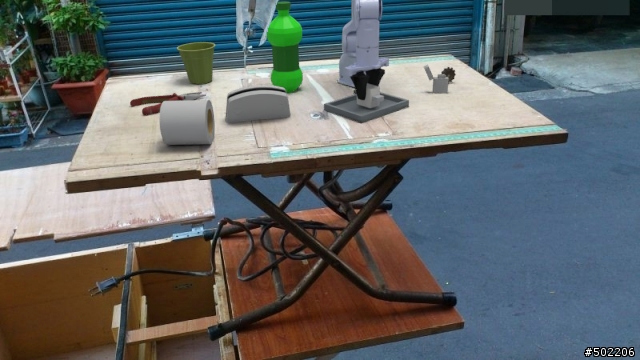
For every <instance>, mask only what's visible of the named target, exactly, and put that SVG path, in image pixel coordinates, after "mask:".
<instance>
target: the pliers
mask: <svg viewBox="0 0 640 360" xmlns="http://www.w3.org/2000/svg"><path fill="white" fill-rule="evenodd" d="M206 96H207V94H203V92H202V91H197V92H189V93H183V94H177V93H176V92H173V93H172V94H166V95H152V96H149V95H148V96H144V97H143V96H142V97H137V98H134V99H132V100H130V102H129V104H130V107H131V108H135V107H140V106H144V105H149V106H145V107H142V109H141V113H142V115H143V116H145V117H147V116H152V115H156V114H160V108H161V105H162V103H163V102H164V101H186V100H198V99H201V98H203V97H206ZM150 104H155V105H150Z"/></svg>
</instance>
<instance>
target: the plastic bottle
mask: <svg viewBox="0 0 640 360" xmlns="http://www.w3.org/2000/svg"><path fill="white" fill-rule="evenodd" d="M291 6H292V5H291V1H283V0H282V1H277V5H276V4H275V10H276V11H277V16H275V18H273V20H272V21H271V22H270V23H269V24H270V26H269V28H268V27H267V29H268V32H267V31H266V38H267V42H268V43H269V44H270V45H271V53H272V65H273V66H272V71H271V74H270V81H271V84H272V86H278V87H283V88H284V89H285V90H286V92H287V93H292V92H295V91H296V90H297V89H298V88H299V87H300V86H301V85H302V83H303V80H304V79H303V78H304V77H303V76H304V75H303V74H304V73H303V71H302V69H301V67H300V56H299V55H300V52H299V49H300V48H299V44H300V43H301V41H302V40H303V39H302V38H303V27H302V25H301V23H300V22H299V21H297V20H296V19H295V18H294V17H292V16H291V15H290V10H291V8H292V7H291Z"/></svg>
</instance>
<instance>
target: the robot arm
mask: <svg viewBox="0 0 640 360" xmlns="http://www.w3.org/2000/svg"><path fill="white" fill-rule="evenodd" d="M382 17H383V0H351V19H350V21H349V22H347V23H346V24H345V25H344V26H343V28H342V30H341V31H342V33H341V49H342V50H341V51H342V55H341V56H340V58H339V62H338V64H339V65H338V68H339V69H338V71H339V72H338V73H339V74H338V77H339V78H338V80H337V83H338V84H342V85H345V86H349V87H351V88H355V89H356V93H357V97H358V99H360V100H365V97H366V87H367V83H368V84H371V85H375V86H379V85H380V83H381V82H382V81H381V80H382V79H383V77H384V75H385V74H386V69H385V68H383V67H390V59H389V58H386V57H381V58H380V57H379V52H380V48H379V47H380V21H381V20H382ZM379 87H380V86H379ZM355 89H354V90H355Z"/></svg>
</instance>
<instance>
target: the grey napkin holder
mask: <svg viewBox="0 0 640 360" xmlns="http://www.w3.org/2000/svg"><path fill="white" fill-rule="evenodd" d="M280 117H281V118H289V117H290V118H291V108H290V101H289V96H288V92H286V90H285V89H284V88H283V87H278V86H274V85H273V84H272V85H271V84H270V85H269V84H258V85H256V84H255V85H249V86H244V87H240V88H237V89H234V90H231V91H229V92H227V96H226V108H225V121H226V123H238V122H249V121H259V120H269V119H270V120H271V119H279V118H280Z"/></svg>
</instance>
